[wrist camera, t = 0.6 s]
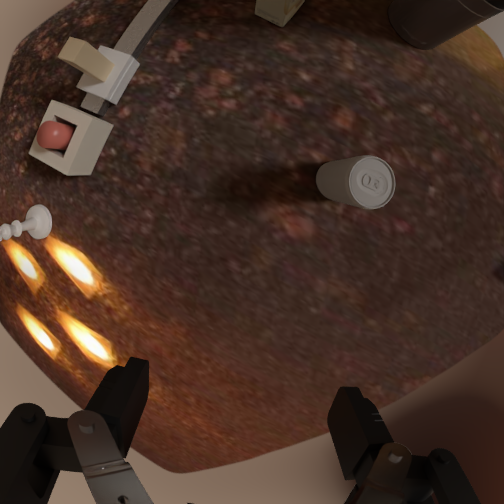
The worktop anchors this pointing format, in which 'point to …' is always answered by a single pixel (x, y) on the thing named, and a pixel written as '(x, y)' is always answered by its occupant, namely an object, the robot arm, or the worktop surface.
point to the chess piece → (30, 224)
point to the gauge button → (55, 135)
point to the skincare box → (277, 10)
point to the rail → (134, 42)
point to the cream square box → (74, 140)
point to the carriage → (100, 68)
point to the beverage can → (357, 181)
